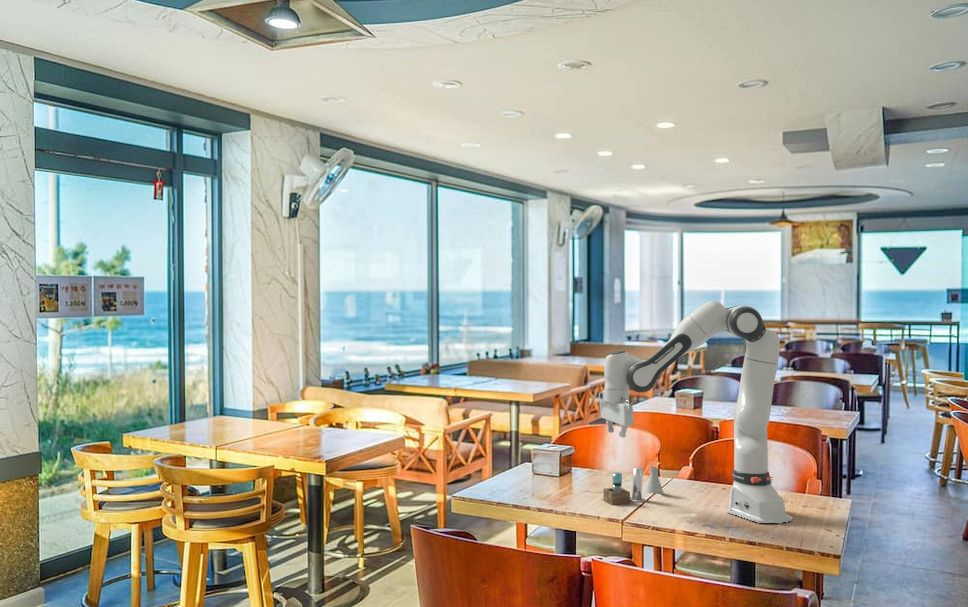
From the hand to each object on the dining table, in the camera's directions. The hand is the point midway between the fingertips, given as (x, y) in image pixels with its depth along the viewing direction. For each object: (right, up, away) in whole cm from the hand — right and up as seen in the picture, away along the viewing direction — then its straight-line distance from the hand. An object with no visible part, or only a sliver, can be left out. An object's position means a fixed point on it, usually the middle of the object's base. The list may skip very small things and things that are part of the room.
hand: (616, 434), depth 272 cm
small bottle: (0, -24, 0) cm, 24 cm away
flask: (+17, -25, +14) cm, 34 cm away
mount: (+3, -25, +1) cm, 25 cm away
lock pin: (+8, -24, +2) cm, 25 cm away
